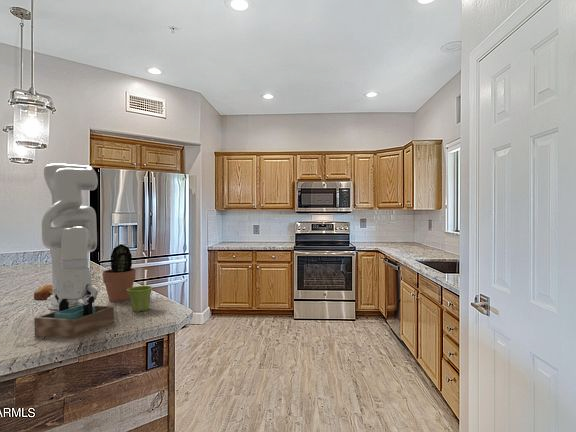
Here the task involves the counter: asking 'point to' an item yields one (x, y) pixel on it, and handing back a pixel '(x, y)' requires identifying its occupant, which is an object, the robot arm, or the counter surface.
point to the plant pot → (140, 297)
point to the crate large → (73, 323)
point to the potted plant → (119, 274)
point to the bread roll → (43, 292)
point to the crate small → (72, 313)
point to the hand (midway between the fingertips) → (75, 314)
